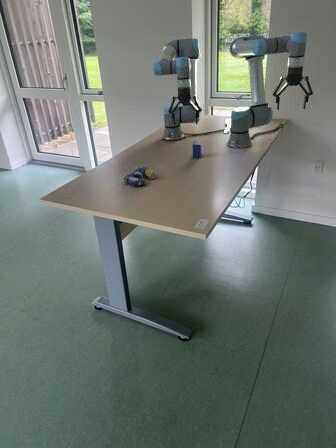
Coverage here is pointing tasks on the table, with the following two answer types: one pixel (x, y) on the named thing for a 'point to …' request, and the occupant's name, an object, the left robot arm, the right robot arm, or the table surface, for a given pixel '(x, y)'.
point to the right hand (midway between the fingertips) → (290, 109)
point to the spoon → (228, 125)
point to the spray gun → (139, 176)
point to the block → (196, 149)
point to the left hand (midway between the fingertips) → (185, 124)
